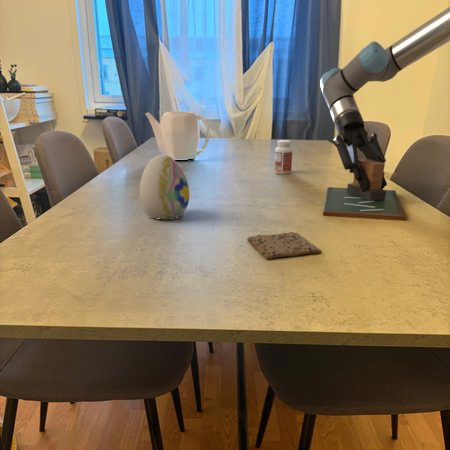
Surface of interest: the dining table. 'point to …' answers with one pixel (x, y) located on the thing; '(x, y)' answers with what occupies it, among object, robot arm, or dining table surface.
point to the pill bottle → (283, 157)
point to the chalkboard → (362, 205)
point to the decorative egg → (164, 188)
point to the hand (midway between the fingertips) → (374, 188)
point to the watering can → (179, 134)
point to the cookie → (282, 245)
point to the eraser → (369, 181)
